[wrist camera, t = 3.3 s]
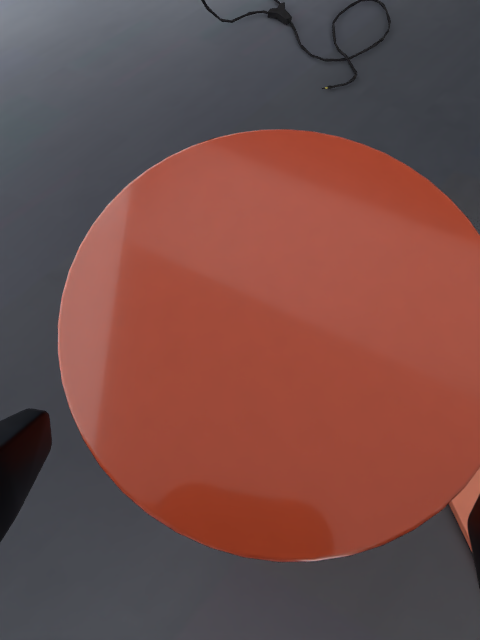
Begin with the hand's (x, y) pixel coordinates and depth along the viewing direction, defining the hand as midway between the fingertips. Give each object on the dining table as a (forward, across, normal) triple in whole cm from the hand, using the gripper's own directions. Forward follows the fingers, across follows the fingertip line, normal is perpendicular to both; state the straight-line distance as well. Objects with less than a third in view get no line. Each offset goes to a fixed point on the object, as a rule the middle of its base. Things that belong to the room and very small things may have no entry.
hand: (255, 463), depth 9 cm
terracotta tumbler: (+8, 0, +5) cm, 9 cm away
